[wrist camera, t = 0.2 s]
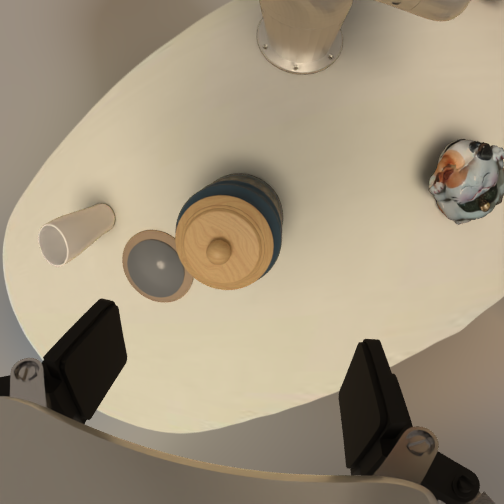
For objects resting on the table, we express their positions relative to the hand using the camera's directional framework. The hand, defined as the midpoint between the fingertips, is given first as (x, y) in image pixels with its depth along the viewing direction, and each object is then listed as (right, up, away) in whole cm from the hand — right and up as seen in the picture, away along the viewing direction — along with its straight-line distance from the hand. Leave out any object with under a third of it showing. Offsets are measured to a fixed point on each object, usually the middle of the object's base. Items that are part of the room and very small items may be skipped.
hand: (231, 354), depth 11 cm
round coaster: (-16, +1, +41) cm, 44 cm away
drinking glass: (-26, +10, +39) cm, 48 cm away
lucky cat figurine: (+34, +16, +29) cm, 48 cm away
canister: (-1, +10, +36) cm, 37 cm away
